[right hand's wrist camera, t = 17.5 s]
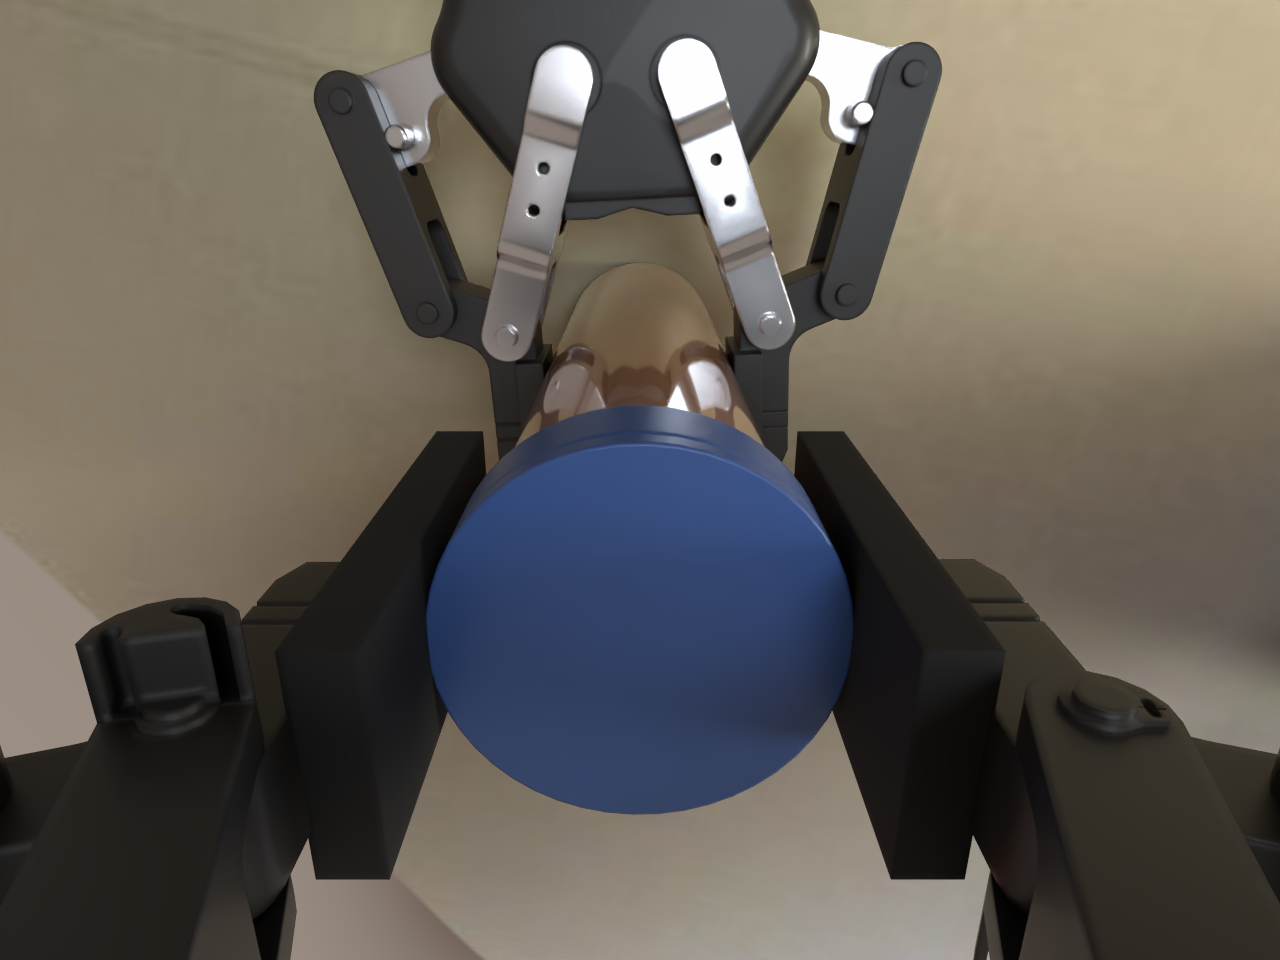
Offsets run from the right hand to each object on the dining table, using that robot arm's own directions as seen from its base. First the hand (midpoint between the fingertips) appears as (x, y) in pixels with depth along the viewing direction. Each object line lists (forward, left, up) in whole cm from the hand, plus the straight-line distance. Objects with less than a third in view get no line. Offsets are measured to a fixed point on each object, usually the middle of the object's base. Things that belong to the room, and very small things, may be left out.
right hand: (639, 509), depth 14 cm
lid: (0, 0, +4) cm, 4 cm away
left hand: (+2, +2, -8) cm, 8 cm away
